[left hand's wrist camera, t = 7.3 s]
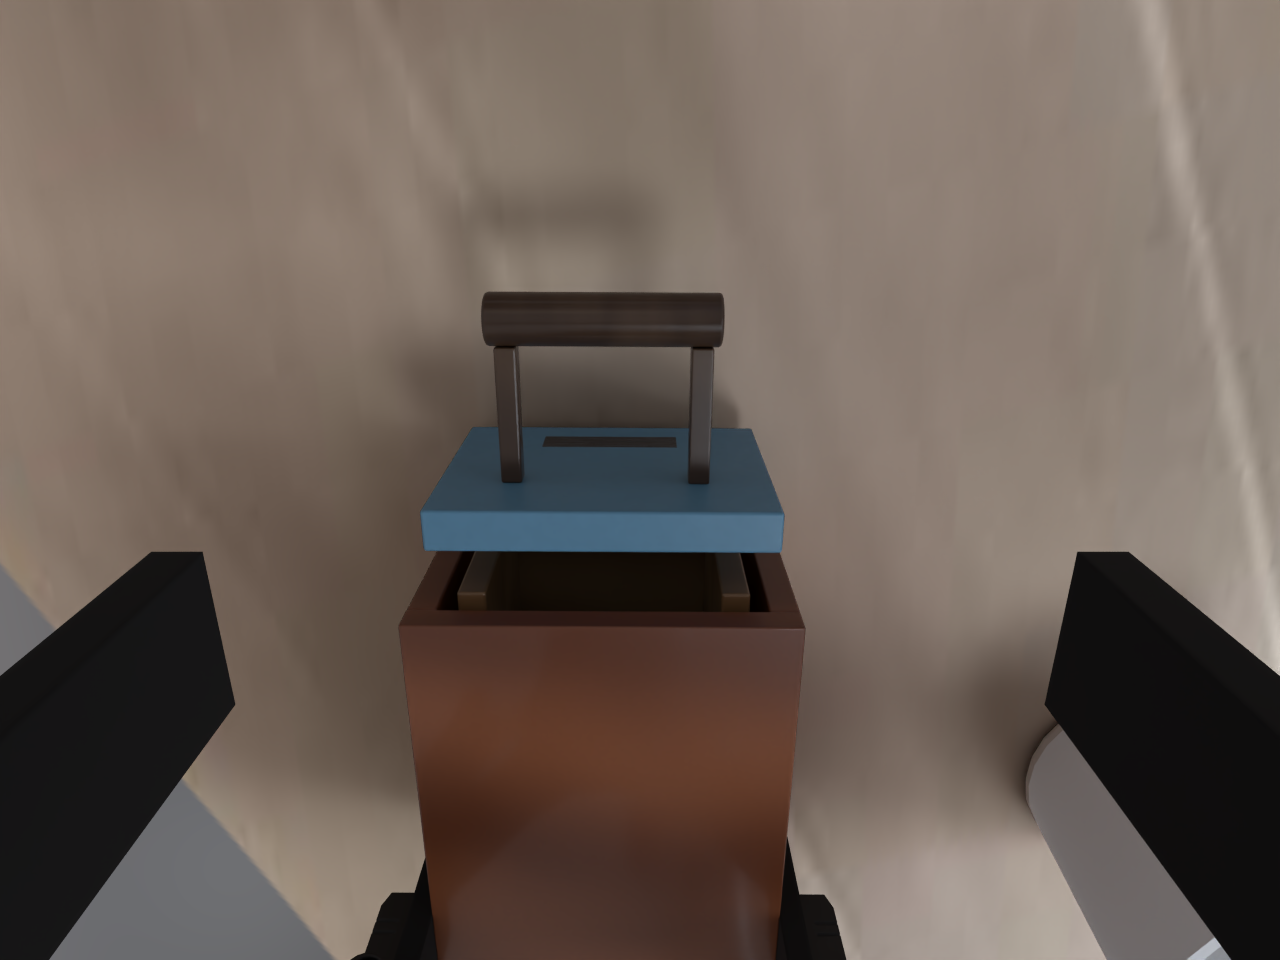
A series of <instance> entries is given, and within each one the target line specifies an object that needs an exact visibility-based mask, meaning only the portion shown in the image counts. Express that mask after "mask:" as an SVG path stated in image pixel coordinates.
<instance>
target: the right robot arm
mask: <svg viewBox="0 0 1280 960" xmlns="http://www.w3.org/2000/svg"><path fill="white" fill-rule="evenodd" d="M351 960H438V959H437V951H436V942H435V934H434V925H433V916H432V909H431V900H430V892H429V883H428V875H427V866H426V858H425V860H424V864H423V867H422V870H421V873H420V877H419V880H418V883H417V886H416V890H415V893H391V894H390V896H389V897H388V898H387V899H386V901H385V902H384V903H383V904H382V905H381V908H380V911H379V914H378V917H377V921H376V923H375V925H374V928H373V933H372V934H371V937H370V940H369V943H368V946H367V949H366V951H365V953H363V954H360V955H357V956H356V957H354V958H353V959H351ZM776 960H846V956H845V952H844V948H843V944H842V940H841V936H840V932H839V928H838V925H837V920H836V916H835V912H834V908H833V906H832V905H831V904H830V902H829V901H828V899H827V898H826V897H825V895H799V891H798V886H797V881H796V876H795V872H794V867H793V862H792V857H791V852H790V847H789V843H788V838H787V842H786V853H785V864H784V875H783V886H782V898H781V909H780V917H779V929H778V940H777V951H776Z"/></svg>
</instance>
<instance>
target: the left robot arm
mask: <svg viewBox="0 0 1280 960" xmlns="http://www.w3.org/2000/svg"><path fill="white" fill-rule="evenodd" d="M234 706H235V701H234V696H233V691H232V687H231V682H230V677H229V673H228V668H227V663H226V659H225V654H224V650H223V645H222V640H221V636H220V631H219V626H218V622H217V617H216V612H215V608H214V603H213V598H212V594H211V589H210V584H209V580H208V575H207V571H206V566H205V561H204V557H203V552H151V553H149V554H148V555H147V556H146V557H145V558H143V559H142V560H141V561H140V562H138V563H137V564H136V565H135V566H134V567H132V568H131V569H130V570H129V571H128V572H126V573H125V574H124V575H123V576H121V577H120V578H119V579H118V580H117V581H115V582H114V583H113V584H112V585H110V586H109V587H108V588H107V589H106V590H104V591H103V592H102V593H101V594H99V595H98V596H97V597H96V598H95V599H93V600H92V601H91V602H90V603H89V604H87V605H86V606H85V607H84V608H82V609H81V610H80V611H79V612H78V613H76V614H75V615H74V616H73V617H71V618H70V619H69V620H68V621H67V622H65V623H64V624H63V625H62V626H61V627H59V628H58V629H57V630H56V631H54V632H53V633H52V634H51V635H50V636H48V637H47V638H46V639H45V640H43V641H42V642H41V643H40V644H39V645H37V646H36V647H35V648H34V649H33V650H31V651H30V652H29V653H28V654H27V655H25V656H24V657H23V658H22V659H20V660H19V661H18V662H17V663H15V664H14V665H13V666H12V667H11V668H9V669H8V670H7V671H6V672H5V673H3V674H2V675H1V676H0V960H49V959H50V958H51V956H52V955H53V953H54V952H55V951H56V949H57V948H58V947H59V945H60V944H61V942H62V941H63V940H64V938H65V937H66V936H67V934H68V933H69V932H70V930H71V929H72V927H73V926H74V925H75V923H76V922H77V921H78V919H79V918H80V916H81V915H82V914H83V912H84V911H85V910H86V908H87V907H88V906H89V904H90V903H91V901H92V900H93V899H94V897H95V896H96V895H97V893H98V892H99V890H100V889H101V888H102V886H103V885H104V884H105V882H106V881H107V880H108V878H109V877H110V875H111V874H112V873H113V871H114V870H115V869H116V867H117V866H118V864H119V863H120V862H121V860H122V859H123V858H124V856H125V855H126V854H127V852H128V851H129V849H130V848H131V847H132V845H133V844H134V843H135V841H136V840H137V838H138V837H139V836H140V834H141V833H142V832H143V830H144V829H145V828H146V826H147V825H148V823H149V822H150V821H151V819H152V818H153V817H154V815H155V814H156V812H157V811H158V810H159V808H160V807H161V806H162V804H163V803H164V801H165V800H166V799H167V797H168V796H169V795H170V793H171V792H172V791H173V789H174V788H175V786H176V785H177V784H178V782H179V781H180V780H181V778H182V777H183V776H184V774H185V773H186V771H187V770H188V769H189V767H190V766H191V765H192V763H193V762H194V760H195V759H196V758H197V756H198V755H199V754H200V752H201V751H202V749H203V748H204V747H205V745H206V744H207V743H208V741H209V740H210V739H211V737H212V736H213V734H214V733H215V732H216V730H217V729H218V728H219V726H220V725H221V723H222V722H223V721H224V719H225V718H226V717H227V715H228V714H229V713H230V711H231V710H232V708H233V707H234ZM1045 706H1046V707H1047V708H1048V710H1049V711H1050V713H1051V714H1052V715H1053V717H1054V718H1055V719H1056V721H1057V722H1058V723H1059V725H1060V726H1061V728H1062V729H1063V730H1064V732H1065V733H1066V734H1067V736H1068V737H1069V739H1070V740H1071V741H1072V743H1073V744H1074V745H1075V747H1076V748H1077V750H1078V751H1079V752H1080V754H1081V755H1082V756H1083V758H1084V759H1085V760H1086V762H1087V763H1088V765H1089V766H1090V767H1091V769H1092V770H1093V771H1094V773H1095V774H1096V776H1097V777H1098V778H1099V780H1100V781H1101V782H1102V784H1103V785H1104V786H1105V788H1106V789H1107V791H1108V792H1109V793H1110V795H1111V796H1112V797H1113V799H1114V800H1115V802H1116V803H1117V804H1118V806H1119V807H1120V808H1121V810H1122V811H1123V812H1124V814H1125V815H1126V817H1127V818H1128V819H1129V821H1130V822H1131V823H1132V825H1133V826H1134V828H1135V829H1136V830H1137V832H1138V833H1139V834H1140V836H1141V837H1142V838H1143V840H1144V841H1145V843H1146V844H1147V845H1148V847H1149V848H1150V849H1151V851H1152V852H1153V854H1154V855H1155V856H1156V858H1157V859H1158V860H1159V862H1160V863H1161V864H1162V866H1163V867H1164V869H1165V870H1166V871H1167V873H1168V874H1169V875H1170V877H1171V878H1172V880H1173V881H1174V882H1175V884H1176V885H1177V886H1178V888H1179V889H1180V890H1181V892H1182V893H1183V895H1184V896H1185V897H1186V899H1187V900H1188V901H1189V903H1190V904H1191V906H1192V907H1193V908H1194V910H1195V911H1196V912H1197V914H1198V915H1199V916H1200V918H1201V919H1202V921H1203V922H1204V923H1205V925H1206V926H1207V927H1208V929H1209V930H1210V932H1211V933H1212V934H1213V936H1214V937H1215V938H1216V940H1217V941H1218V942H1219V944H1220V945H1221V947H1222V948H1223V949H1224V951H1225V952H1226V953H1227V955H1228V956H1229V958H1230V959H1231V960H1280V676H1279V675H1278V674H1277V673H1275V672H1274V671H1273V670H1272V669H1271V668H1269V667H1268V666H1267V665H1266V664H1265V663H1263V662H1262V661H1261V660H1260V659H1258V658H1257V657H1256V656H1255V655H1254V654H1252V653H1251V652H1250V651H1249V650H1247V649H1246V648H1245V647H1244V646H1243V645H1241V644H1240V643H1239V642H1238V641H1237V640H1235V639H1234V638H1233V637H1232V636H1230V635H1229V634H1228V633H1227V632H1226V631H1224V630H1223V629H1222V628H1221V627H1219V626H1218V625H1217V624H1216V623H1215V622H1213V621H1212V620H1211V619H1210V618H1209V617H1207V616H1206V615H1205V614H1204V613H1202V612H1201V611H1200V610H1199V609H1198V608H1196V607H1195V606H1194V605H1193V604H1191V603H1190V602H1189V601H1188V600H1187V599H1185V598H1184V597H1183V596H1182V595H1181V594H1179V593H1178V592H1177V591H1176V590H1174V589H1173V588H1172V587H1171V586H1170V585H1168V584H1167V583H1166V582H1165V581H1163V580H1162V579H1161V578H1160V577H1159V576H1157V575H1156V574H1155V573H1154V572H1152V571H1151V570H1150V569H1149V568H1148V567H1146V566H1145V565H1144V564H1143V563H1142V562H1140V561H1139V560H1138V559H1137V558H1135V557H1134V556H1133V555H1132V554H1131V553H1129V552H1077V557H1076V561H1075V566H1074V571H1073V575H1072V580H1071V584H1070V589H1069V594H1068V598H1067V603H1066V608H1065V612H1064V617H1063V622H1062V626H1061V631H1060V636H1059V640H1058V645H1057V650H1056V654H1055V659H1054V663H1053V668H1052V673H1051V677H1050V682H1049V687H1048V691H1047V696H1046V701H1045Z"/></svg>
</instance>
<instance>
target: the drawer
mask: <svg viewBox="0 0 1280 960" xmlns="http://www.w3.org/2000/svg"><path fill="white" fill-rule="evenodd" d="M481 324H482V333H483V338H484V341H485V343H486V345H488V346H495V348H494V367H495V383H496V400H497V416H498V427H473V428H472V429H471V431H470V432H469V434H468V436H467V437H466V439H465V440H464V442H463V444H462V445H461V447H460V448H459V450H458V452H457V453H456V455H455V456H454V458H453V460H452V461H451V463H450V464H449V466H448V468H447V469H446V471H445V473H444V474H443V476H442V477H441V479H440V481H439V482H438V484H437V485H436V487H435V489H434V490H433V492H432V493H431V495H430V497H429V498H428V500H427V501H426V503H425V505H424V506H423V508H422V510H421V512H420V517H421V527H422V537H423V547H424V550H426V551H475V553H474V555H473V557H472V560H471V562H470V565H469V567H468V569H467V572H466V574H465V576H464V579H463V581H462V583H461V586H460V588H459V591H458V593H457V597H458V609H459V610H472V611H638V612H749V609H750V592H749V588H748V584H747V580H746V575H745V571H744V567H743V563H742V559H741V555H740V553H780V552H781V550H782V542H783V529H784V512H783V510H782V507H781V504H780V502H779V499H778V497H777V494H776V492H775V489H774V486H773V484H772V481H771V479H770V476H769V474H768V471H767V468H766V466H765V463H764V461H763V458H762V456H761V453H760V451H759V448H758V445H757V443H756V440H755V438H754V435H753V433H752V430H751V429H730V428H711V425H712V398H713V372H714V348H713V347H720V346H721V345H722V342H723V336H724V298H723V295H722V294H721V293H642V292H486V293H485V294H484V296H483V299H482V306H481ZM518 346H588V347H691V359H690V396H689V428H551V427H522V412H521V391H520V371H519V351H518Z"/></svg>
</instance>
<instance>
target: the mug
mask: <svg viewBox="0 0 1280 960" xmlns="http://www.w3.org/2000/svg"><path fill="white" fill-rule="evenodd" d="M1026 801H1027V803H1028V806H1029V808H1030V810H1031V813H1032V815H1033V818H1034V819H1035V821H1036V823H1037V825H1038V827H1039V829H1040V831H1041V833H1042V835H1043V837H1044V839H1045V841H1046V842H1047V844H1048V846H1049V848H1050V850H1051V852H1052V854H1053V856H1054V858H1055V860H1056V862H1057V864H1058V866H1059V868H1060V870H1061V872H1062V874H1063V876H1064V877H1065V879H1066V881H1067V883H1068V885H1069V887H1070V889H1071V891H1072V893H1073V895H1074V897H1075V899H1076V901H1077V903H1078V905H1079V907H1080V909H1081V911H1082V912H1083V914H1084V916H1085V918H1086V920H1087V922H1088V924H1089V926H1090V928H1091V930H1092V932H1093V934H1094V936H1095V938H1096V940H1097V942H1098V944H1099V946H1100V948H1101V949H1102V951H1103V953H1104V955H1105V957H1106V959H1107V960H1231V959H1230V958H1229V956H1228V955H1227V953H1226V952H1225V951H1224V949H1223V948H1222V947H1221V945H1220V944H1219V942H1218V941H1217V940H1216V938H1215V937H1214V936H1213V934H1212V933H1211V932H1210V930H1209V929H1208V927H1207V926H1206V925H1205V923H1204V922H1203V921H1202V919H1201V918H1200V916H1199V915H1198V914H1197V912H1196V911H1195V910H1194V908H1193V907H1192V906H1191V904H1190V903H1189V901H1188V900H1187V899H1186V897H1185V896H1184V895H1183V893H1182V892H1181V890H1180V889H1179V888H1178V886H1177V885H1176V884H1175V882H1174V881H1173V880H1172V878H1171V877H1170V875H1169V874H1168V873H1167V871H1166V870H1165V869H1164V867H1163V866H1162V864H1161V863H1160V862H1159V860H1158V859H1157V858H1156V856H1155V855H1154V854H1153V852H1152V851H1151V849H1150V848H1149V847H1148V845H1147V844H1146V843H1145V841H1144V840H1143V838H1142V837H1141V836H1140V834H1139V833H1138V832H1137V830H1136V829H1135V828H1134V826H1133V825H1132V823H1131V822H1130V821H1129V819H1128V818H1127V817H1126V815H1125V814H1124V812H1123V811H1122V810H1121V808H1120V807H1119V806H1118V804H1117V803H1116V802H1115V800H1114V799H1113V797H1112V796H1111V795H1110V793H1109V792H1108V791H1107V789H1106V788H1105V786H1104V785H1103V784H1102V782H1101V781H1100V780H1099V778H1098V777H1097V776H1096V774H1095V773H1094V771H1093V770H1092V769H1091V767H1090V766H1089V765H1088V763H1087V762H1086V760H1085V759H1084V758H1083V756H1082V755H1081V754H1080V752H1079V751H1078V750H1077V748H1076V747H1075V745H1074V744H1073V743H1072V741H1071V740H1070V739H1069V737H1068V736H1067V734H1066V733H1065V732H1064V730H1063V729H1062V728H1061V726H1060V725H1059V723H1058V724H1057V725H1056V726H1055V727H1054V728H1053V729H1052V730H1051V731H1050V732H1049V733H1048V734H1047V735H1046V736H1045V737H1044V738H1043V740H1042V741H1041V743H1040V745H1039V746H1038V748H1037V749H1036V751H1035V753H1034V754H1033V756H1032V758H1031V762H1030V765H1029V769H1028V772H1027V776H1026Z"/></svg>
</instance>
